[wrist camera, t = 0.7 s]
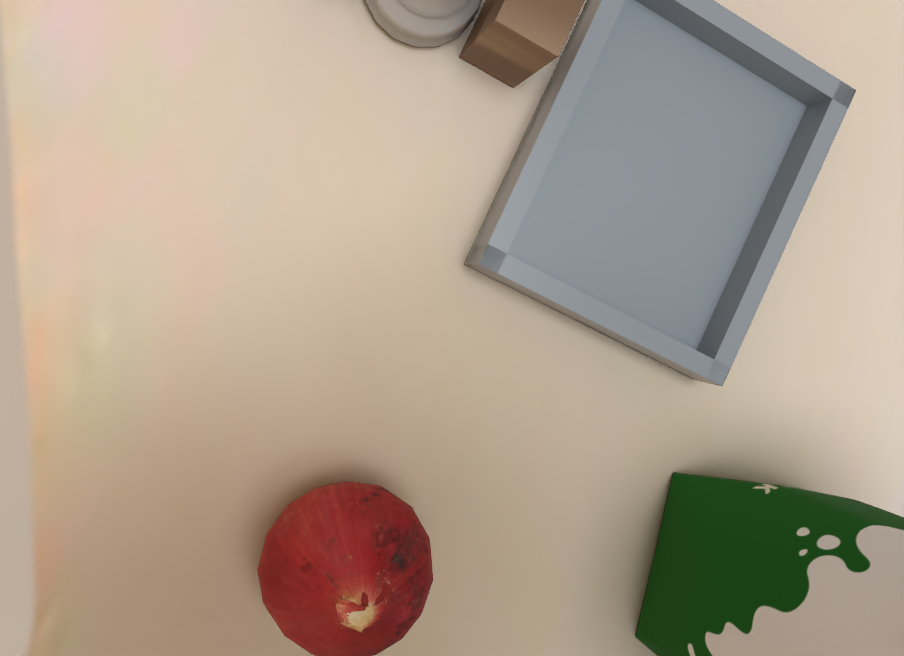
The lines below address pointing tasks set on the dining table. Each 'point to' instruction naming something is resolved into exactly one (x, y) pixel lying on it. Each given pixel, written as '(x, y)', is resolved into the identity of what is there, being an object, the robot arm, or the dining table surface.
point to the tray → (662, 178)
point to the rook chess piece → (424, 19)
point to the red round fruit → (346, 570)
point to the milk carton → (773, 573)
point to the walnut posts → (519, 36)
